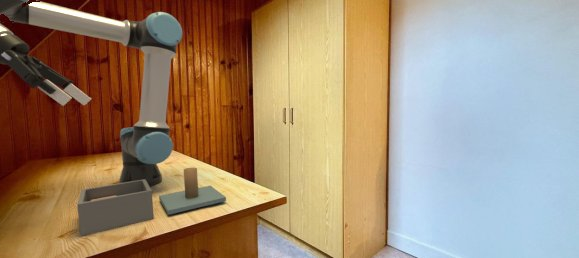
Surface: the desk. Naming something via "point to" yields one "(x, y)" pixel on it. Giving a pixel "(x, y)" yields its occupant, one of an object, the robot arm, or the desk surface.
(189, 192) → the lid
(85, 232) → the storage box
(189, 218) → the desk surface
